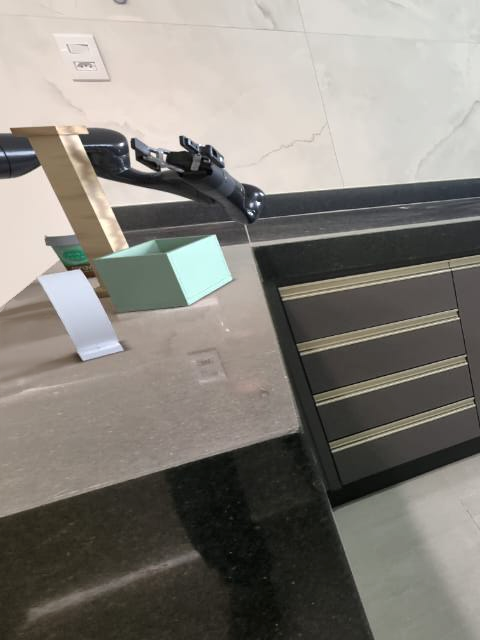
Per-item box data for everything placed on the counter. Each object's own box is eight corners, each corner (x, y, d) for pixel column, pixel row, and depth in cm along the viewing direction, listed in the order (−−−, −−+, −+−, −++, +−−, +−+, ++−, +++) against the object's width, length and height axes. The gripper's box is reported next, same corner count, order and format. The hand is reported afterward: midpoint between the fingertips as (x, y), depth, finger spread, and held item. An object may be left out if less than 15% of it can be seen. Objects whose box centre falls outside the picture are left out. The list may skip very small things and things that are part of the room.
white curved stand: (117, 343, 83) (80, 269, 78) (125, 352, 80) (87, 274, 75) (77, 353, 80) (35, 276, 75) (83, 362, 76) (40, 282, 71)
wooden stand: (113, 286, 116) (37, 127, 102) (160, 282, 117) (91, 125, 104) (84, 298, 108) (-3, 128, 94) (135, 293, 109) (57, 125, 96)
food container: (55, 283, 121) (32, 239, 117) (64, 277, 126) (42, 235, 121) (125, 273, 127) (105, 231, 122) (131, 268, 131) (112, 227, 127)
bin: (188, 305, 100) (166, 253, 96) (117, 312, 98) (91, 259, 94) (232, 279, 117) (215, 234, 112) (173, 285, 114) (153, 239, 110)
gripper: (171, 163, 122) (115, 125, 106) (239, 159, 124) (195, 121, 109) (173, 194, 121) (118, 160, 105) (242, 189, 124) (198, 156, 108)
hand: (157, 140), depth 107 cm, fingers open, 8 cm apart
